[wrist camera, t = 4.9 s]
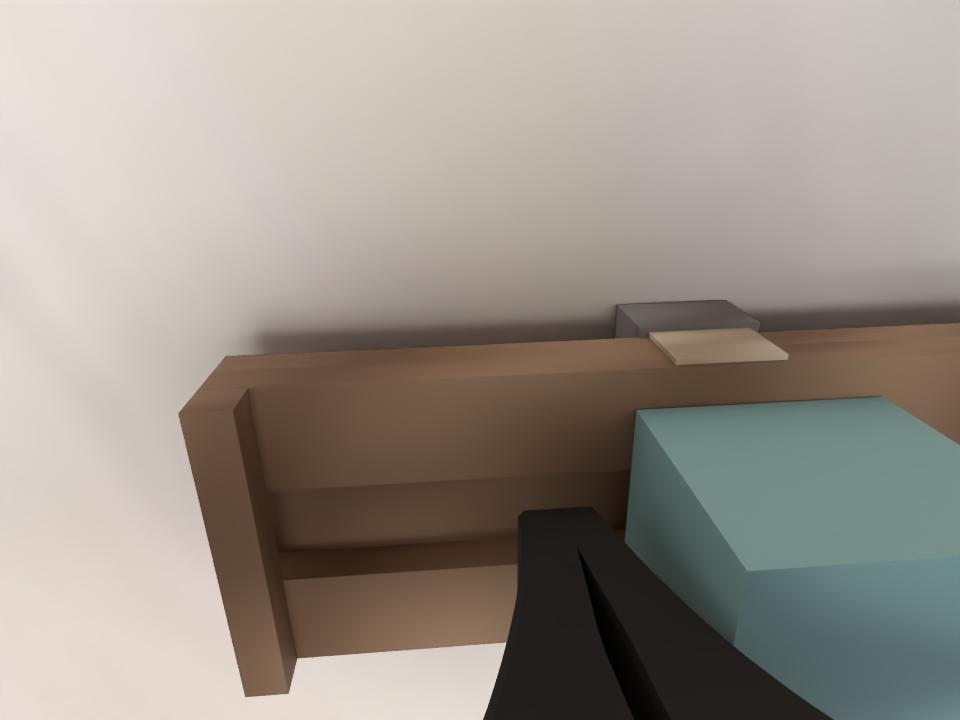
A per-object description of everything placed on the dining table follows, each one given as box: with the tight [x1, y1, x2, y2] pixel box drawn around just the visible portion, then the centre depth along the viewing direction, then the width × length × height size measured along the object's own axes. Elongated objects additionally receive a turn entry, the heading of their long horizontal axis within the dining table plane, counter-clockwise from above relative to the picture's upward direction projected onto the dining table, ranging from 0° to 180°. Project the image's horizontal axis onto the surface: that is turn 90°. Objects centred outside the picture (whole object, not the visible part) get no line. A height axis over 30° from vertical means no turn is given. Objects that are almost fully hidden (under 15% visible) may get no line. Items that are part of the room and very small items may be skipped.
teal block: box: [625, 397, 960, 720], centre depth 10 cm, size 4×4×5 cm
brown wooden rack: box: [178, 300, 960, 697], centre depth 13 cm, size 18×6×4 cm, turn 91°
